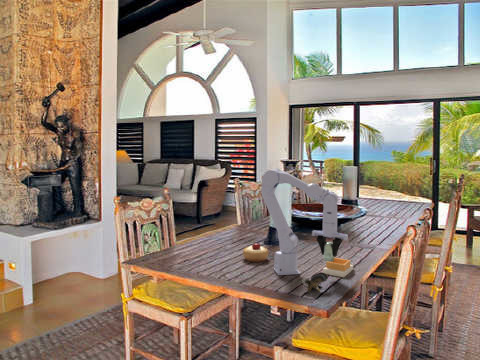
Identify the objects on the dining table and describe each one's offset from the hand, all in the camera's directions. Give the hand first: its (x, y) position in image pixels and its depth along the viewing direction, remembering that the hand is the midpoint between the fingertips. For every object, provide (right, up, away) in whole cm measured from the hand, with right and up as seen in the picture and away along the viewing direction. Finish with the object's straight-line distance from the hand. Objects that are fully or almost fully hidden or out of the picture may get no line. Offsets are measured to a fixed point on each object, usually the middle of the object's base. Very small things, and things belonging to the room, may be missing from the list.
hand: (329, 255), depth 164 cm
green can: (0, -2, 0) cm, 2 cm away
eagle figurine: (-8, -11, -14) cm, 19 cm away
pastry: (-29, -7, +24) cm, 38 cm away
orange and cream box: (+5, -8, +7) cm, 12 cm away
